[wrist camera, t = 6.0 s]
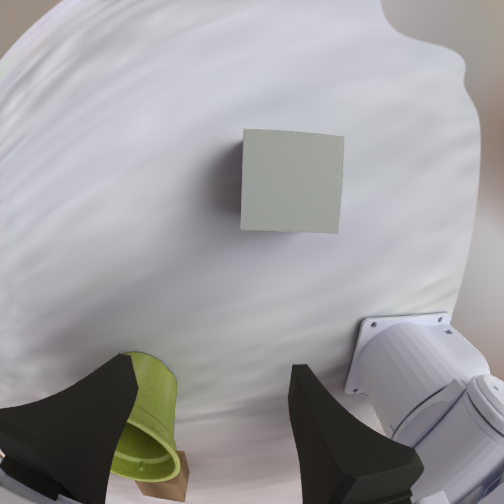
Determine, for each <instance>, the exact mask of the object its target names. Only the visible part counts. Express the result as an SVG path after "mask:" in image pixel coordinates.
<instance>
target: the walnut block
mask: <svg viewBox="0 0 504 504" xmlns="http://www.w3.org/2000/svg"><path fill="white" fill-rule="evenodd" d="M176 453H177V454H178V456H179V459H180V464H181V466H180V471H179V473H178V474H177V475H176V476H175V477H174V478H172V479H170V480H166V481H160V482H145V481H136V480H135V482H136V483H137V485H138V487H139V488H140V490H141V492H142V493H143V495H146V496H151V497H156V498H161V499H167V500H173V501H180V502H185V497H186V490H187V484H188V477H189V468H188V464H187V460H186V456H185V452H183V451H176Z"/></svg>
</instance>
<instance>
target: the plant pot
mask: <svg viewBox="0 0 504 504" xmlns="http://www.w3.org/2000/svg"><path fill="white" fill-rule="evenodd" d="M124 355H131V358H132V363H133V367H134V371H135V375H136V379H137V383H138V387H139V389H138V393H137V397H136V400H135V404H134V407H133V409H132V412H131V414H130V416H129V418H128V421H127V423H126V425H125V427H124V430H123V432H122V434H121V437H120V439H119V441H118V444H117V447H116V450H115V454H114V457H113V461H112V465H111V470H110V472H111V473H113V474H116V475H119V476H122V477H125V478H128V479H132V480H136V481H145V482H160V481H166V480H170V479H172V478H174V477H175V476H176V475H177V474H178V473H179V471H180V466H181V464H180V459H179V456H178V454H177V453H176V444H175V441H174V420H175V404H176V392H177V382H176V379H175V377H174V375H173V373H171V372H170V371H169V370H168V369H167V368H166V367H165V366H164V365H163V364H162V362H161V361H160V360H158V359H156V358H154V357H152V356H150V355H147V354H144V353H138V352H129V353H126V354H124Z"/></svg>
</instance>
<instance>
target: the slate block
mask: <svg viewBox="0 0 504 504" xmlns="http://www.w3.org/2000/svg"><path fill="white" fill-rule="evenodd" d="M343 157H344V137H342V136H334V135H326V134H317V133H306V132H294V131H280V130H261V129H244V134H243V162H242V194H241V230H259V231H288V232H313V233H335V234H338V229H339V218H340V206H341V193H342V177H343Z"/></svg>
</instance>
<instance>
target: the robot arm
mask: <svg viewBox="0 0 504 504" xmlns="http://www.w3.org/2000/svg"><path fill="white" fill-rule="evenodd" d="M451 317H452V316H451V314H450V313H449V312H445V313H434V314H422V315H409V316H394V317H376V318H366V319H364V320H363V321H362V323H361V327H360V331H359V336H358V340H357V344H356V348H355V352H354V356H353V360H352V364H351V367H350V371H349V375H348V378H347V382H346V385H345V389H344V391H345V393H346V394H358V393H367V395H368V397H369V399H370V401H371V404H372V406H373V408H374V410H375V412H376V414H377V416H378V419H379V421H380V423H381V425H382V427H383V429H384V432H385V434H386V436H387V437H385V436H383V435H381V434H379V433H378V432H376V431H374V430H373V429H371V428H370V427H368V426H366V425H365V424H363V423H362V422H360V421H359V420H358V419H356V418H355V417H354V416H353V415H351V414H350V413H349V412H348V411H347V410H346V409H345V408H344V407H342V406H341V405H340V404H339V403H338V402H337V401H336V400H335V398H334V397H333V396H332V395H331V394H330V393H329V392H328V391H327V390H326V388H325V387H324V386H323V385H322V384H321V382H320V381H319V380H318V379H317V377H316V376H315V375H314V373H313V372H312V371H311V369H310V368H309V366H308V365H307V364H301V365H293V366H292V373H291V380H290V387H289V394H288V404H289V415H290V421H291V425H292V430H293V434H294V439H295V443H296V448H297V452H298V457H299V463H300V472H301V484H302V497H303V504H504V382H503V381H501V380H499V379H498V378H496V377H494V376H492V375H490V370H489V366H488V364H487V361H486V359H485V358H484V356H483V355H482V354H481V353H480V352H479V351H478V350H477V349H476V348H475V347H474V346H473V345H472V344H471V343H470V342H468V341H467V340H466V339H465V338H464V337H463V336H462V335H461V334H460V333H459V332H458V331H456V330H455V329H454V328H453V327H452V326H451V325H450V321H451ZM439 318H440V319H439ZM438 319H439V320H438ZM374 322H375V324H374V325H372V326H371V324H372V323H374ZM138 389H139V387H138V383H137V379H136V375H135V371H134V367H133V363H132V358H131V355H124V354H118V355H116V356H115V357H113V358H112V359H111V360H109V361H108V362H107V363H105V364H104V365H102V366H101V367H100V368H98V369H97V370H95V371H94V372H93V373H91V374H90V375H88V376H87V377H85V378H84V379H82V380H80V381H79V382H77V383H76V384H74V385H72V386H71V387H69V388H67V389H65V390H63V391H61V392H59V393H57V394H55V395H52V396H50V397H47V398H45V399H42V400H39V401H36V402H33V403H29V404H25V405H21V406H16V407H9V408H2V409H0V449H1V451H2V452H3V453H4V454H5V455H6V456H5V457H4V459H2V458H1V457H0V504H105V499H106V491H107V485H108V479H109V474H110V470H111V465H112V461H113V457H114V454H115V450H116V447H117V444H118V441H119V439H120V437H121V434H122V432H123V430H124V427H125V425H126V423H127V421H128V418H129V416H130V414H131V412H132V409H133V407H134V404H135V400H136V397H137V393H138ZM354 389H355V390H354Z"/></svg>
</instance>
